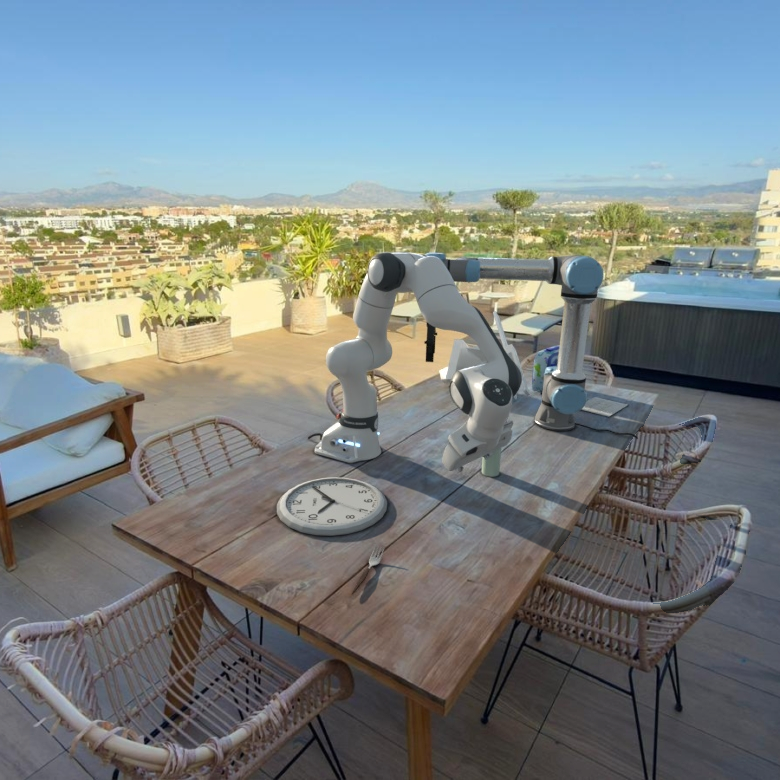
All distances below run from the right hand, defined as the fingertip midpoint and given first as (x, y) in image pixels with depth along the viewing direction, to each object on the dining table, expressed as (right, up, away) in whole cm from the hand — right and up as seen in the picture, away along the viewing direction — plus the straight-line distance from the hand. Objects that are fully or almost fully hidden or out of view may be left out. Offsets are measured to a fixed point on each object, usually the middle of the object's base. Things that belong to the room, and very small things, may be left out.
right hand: (430, 357), depth 190 cm
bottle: (+17, -38, -26) cm, 49 cm away
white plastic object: (+27, -13, +54) cm, 61 cm away
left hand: (+8, -32, -48) cm, 58 cm away
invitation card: (+77, -19, +37) cm, 87 cm away
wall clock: (-30, -43, -47) cm, 71 cm away
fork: (-20, -52, -75) cm, 93 cm away
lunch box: (+62, -12, +59) cm, 86 cm away
